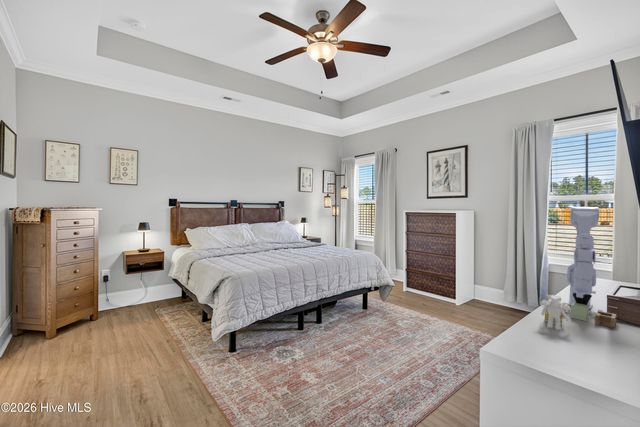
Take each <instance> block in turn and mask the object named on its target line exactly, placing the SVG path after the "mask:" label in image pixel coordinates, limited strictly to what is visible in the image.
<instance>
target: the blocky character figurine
mask: <svg viewBox="0 0 640 427" xmlns="http://www.w3.org/2000/svg"><path fill="white" fill-rule="evenodd" d="M552 295H553V294H547V293H545V296H546V298H548V297H549V298H552V297H551V296H552ZM547 301H548V300H547V299H543V300H542V299H541V301H540V302H539V306H541V307H542V310H541V313H540V314H541V316H545V313H546V314H547V312H548V314H549V319H548V322H547V325H546V327H547V328H550V329H553V328H554V329H555V330H558V331H561V330H562V326H561V324H560V315H561V313H562V315H563V318H564V319H565V320H566V322H570V321H569V320H570V319H569V318H570V317H569V316H568V315H567V314H566V313H568V312H569V313H571V305H567V303H566V304H565V305H564V306H563V307H562V305H561V303H562V300H561V301H560V300H559V299H558V298H555V297H553V298H552V299H550V300H549V304H548V303H547ZM563 309H564V310H563ZM565 310H566V311H565ZM546 311H547V312H546ZM554 318H555V321H556V324H553V319H554ZM553 325H554V327H553Z"/></svg>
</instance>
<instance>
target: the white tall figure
mask: <svg viewBox="0 0 640 427" xmlns="http://www.w3.org/2000/svg"><path fill="white" fill-rule="evenodd" d="M551 295H552V296H551V297H552V298H553V297H555V298H558V299H559V300H560V301H561V305H562V307H563V304H562V303H563V302H562V297H561V296H558V295H555V294H551ZM552 298H549V297H547V300H546V301H547V303H548V304H549V300H550V299H552ZM546 312H547V311H546ZM563 318H564V316H563V315H562V313H561V315H560V325H562V324H563ZM548 319H549V314H548V312H547V314H546V313H544V321H545V322H547V323H548ZM555 324H556V321H555V318H554V319H553V325H555Z"/></svg>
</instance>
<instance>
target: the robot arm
mask: <svg viewBox="0 0 640 427" xmlns="http://www.w3.org/2000/svg"><path fill="white" fill-rule="evenodd" d="M600 213H601V212H600V208H599V207H598V206H596V207H593V206H592V207H591V206H587V207H585V206H571V207H570V213H569V218H570V221H569V223H570V226H572V227H574V228H575V230H576V236H575V247H574V248H575V249H574V251H573V263H571V264H570V265H568V267H567V272H566V282H567V284H569V300H568V302H567V303H566V304H567V305H568V306H571V304H572V303H578V304H583V305H589V310H591V309H592V307H593V305H594V304H593V303H591V302H592V301H591V298H592V297H593V295H592V294H596V293H597V290H596V291H595V290H593V288H594V287H595V286H596V285H597V270H596V269H595V267H594V265H595V264H596V257H597V255H596V254H597V253H596V250H595V245H594V244H595V242H594V241H595V240H594V236H593V235H592V234H591V230H592V228H596V227H597V226H598V224H599V221H600V220H599V219H600Z"/></svg>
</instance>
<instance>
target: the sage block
mask: <svg viewBox="0 0 640 427" xmlns="http://www.w3.org/2000/svg"><path fill="white" fill-rule="evenodd" d="M570 308H571V310H570V311H571V312H569V313H570V317H569V318H570V319H576V320H579V321H580V320H581V321H584V322H587V321H588V320H589V317H590V309H589V305H583V304H578V303H572V304H571V305H570Z"/></svg>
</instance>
